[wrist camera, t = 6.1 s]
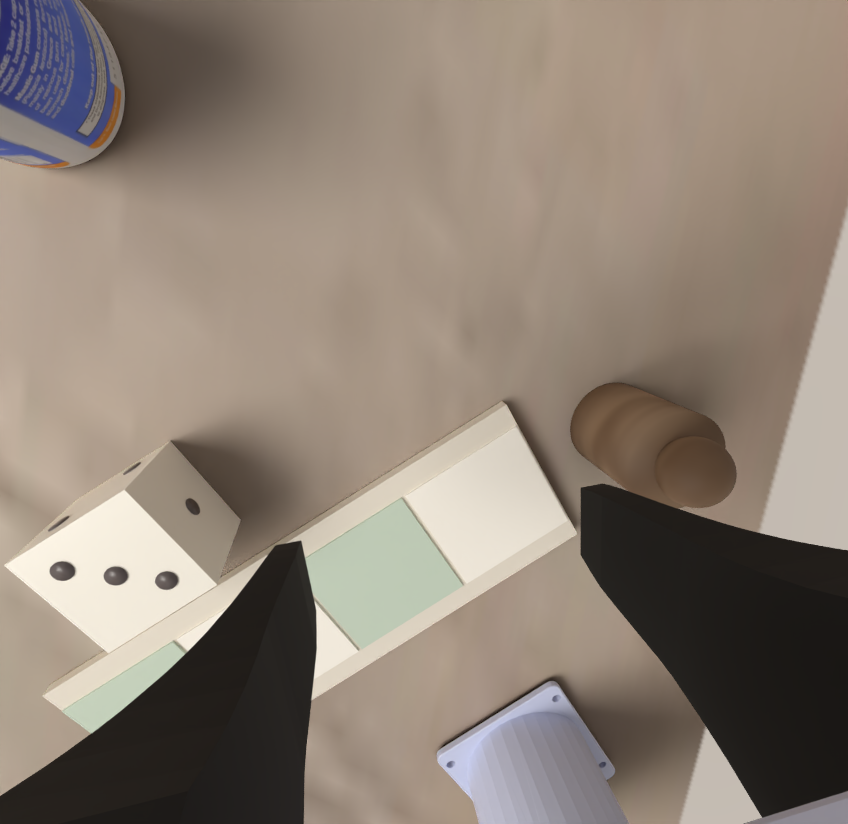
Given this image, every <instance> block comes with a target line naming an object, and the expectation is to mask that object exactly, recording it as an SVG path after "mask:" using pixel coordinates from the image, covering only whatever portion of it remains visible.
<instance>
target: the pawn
mask: <svg viewBox="0 0 848 824" xmlns="http://www.w3.org/2000/svg"><path fill="white" fill-rule="evenodd" d="M570 432H571V439H572V442H573V444H574V446H575V448H576V450H577V451H578V452H579V453H580V454H581V455H582V456H583V457H585V458H586V459H587V460H589V461H590V462H591V463H593V464H594V465H595V466H596V467H598V468H599V469H600V470H602V471H603V472H604V473H606V474H607V475H608V476H610V477H611V478H612V479H613V480H615V481H616V482H617V483H619V484H620V485H621V486H623V487H624V488H625V489H626V490H628V491H629V492H632V493H635V494H638V495H640V496H643V497H646V498H649V499H652V500H654V501H657V502H660V503H663V504H666V505H668V506H671V507H674V508H677V509H678V508H681V507H684V506H687V507H692V508H704V507H709V506H713V505H715V504H718V503H719V502H721V501H722V500H724V499H725V498H726V497H727V496H728V495H729V494H730V493H731V491H732V490H733V488H734V485H735V482H736V467H735V463H734V461H733V459H732V457H731V455H730V454H729V453H728V452H727V450H726V449H725V440H724V436H723V434H722V432H721V430H720V428H719V427H718V425H717V424H716V423H715V422H714V421H713V420H711V419H710V418H708V417H706V416H704V415H701V414H699V413H697V412H694V411H692V410H689V409H687V408H684V407H682V406H679V405H677V404H674V403H672V402H669V401H667V400H665V399H662V398H660V397H657V396H655V395H652V394H650V393H647V392H645V391H642V390H640V389H637V388H635V387H632V386H630V385H627V384H624V383H608V384H604V385H602V386H599V387H597V388H595V389H594V390H592V391H591V392H589V393H588V394H587V395H586V396H585V397H584V398H583V399H582V400H581V402H580V403H579V404H578V406H577V408H576V409H575V412H574V414H573V417H572V420H571V427H570Z"/></svg>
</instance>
